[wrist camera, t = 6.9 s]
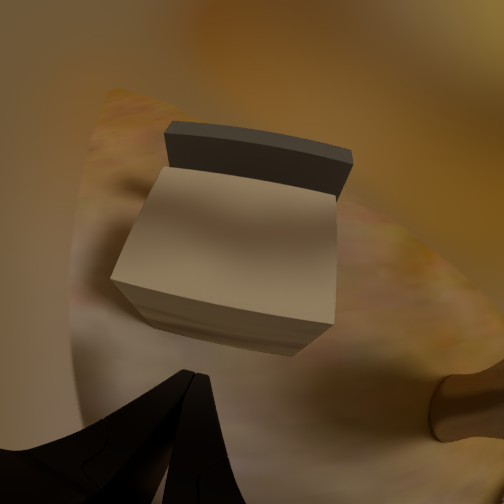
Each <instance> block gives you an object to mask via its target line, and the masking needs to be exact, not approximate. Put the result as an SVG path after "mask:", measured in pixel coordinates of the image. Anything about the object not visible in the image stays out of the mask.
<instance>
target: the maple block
mask: <svg viewBox="0 0 504 504" xmlns="http://www.w3.org/2000/svg"><path fill="white" fill-rule="evenodd" d="M336 267H337V224H336V196H335V195H331V194H327V193H322V192H318V191H313V190H308V189H304V188H299V187H294V186H289V185H284V184H279V183H273V182H268V181H262V180H257V179H251V178H245V177H239V176H232V175H226V174H219V173H212V172H205V171H197V170H190V169H181V168H173V167H163V169H162V171H161V173H160V174H159V176H158V178H157V180H156V182H155V184H154V185H153V187H152V189H151V191H150V193H149V195H148V197H147V199H146V201H145V203H144V205H143V207H142V209H141V211H140V213H139V215H138V217H137V219H136V221H135V223H134V225H133V227H132V229H131V231H130V234H129V236H128V238H127V240H126V242H125V245H124V247H123V249H122V251H121V254H120V256H119V258H118V261H117V263H116V266H115V268H114V270H113V273H112V275H111V278H110V279H111V280H112V282H113V283H114V284H115V285H116V286H117V288H118V289H119V290H120V291H121V292H122V293H123V295H124V296H125V297H126V298H127V299H128V300H129V301H130V303H131V304H132V305H133V306H134V307H135V308H136V309H137V310H138V312H139V313H140V314H141V315H142V316H143V317H144V318H145V319H146V320H147V321H148V322H149V323H150V324H151V326H152V327H153V328H155V329H159V330H163V331H166V332H170V333H174V334H178V335H182V336H186V337H190V338H195V339H199V340H203V341H208V342H212V343H217V344H222V345H227V346H232V347H237V348H242V349H248V350H253V351H259V352H265V353H271V354H278V355H285V356H292V357H293V356H294V355H295V354H297V353H298V352H299V351H301V350H302V349H303V348H305V347H306V346H307V345H309V344H310V343H311V342H313V341H314V340H315V339H316V338H318V337H319V336H320V335H321V334H323V333H324V332H325V331H326V330H328V329H329V328H330V327H331V326H333V325H334V319H335V300H336Z"/></svg>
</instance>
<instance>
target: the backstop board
mask: <svg viewBox="0 0 504 504" xmlns="http://www.w3.org/2000/svg"><path fill="white" fill-rule="evenodd" d="M164 136H165V143H166V149H167V154H168V160H169V166H170V167H173V168H181V169H190V170H197V171H205V172H212V173H219V174H226V175H232V176H239V177H245V178H251V179H257V180H262V181H268V182H273V183H279V184H284V185H289V186H294V187H299V188H304V189H308V190H313V191H318V192H322V193H327V194H331V195H335V196H336V202H337V200H338V197H339V195H340V193H341V191H342V189H343V187H344V184H345V182H346V180H347V178H348V175H349V173H350V171H351V168H352V166H353V158H352V152H351V150H349V149H345V148H341V147H337V146H333V145H329V144H325V143H321V142H317V141H312V140H308V139H303V138H298V137H293V136H288V135H283V134H278V133H272V132H266V131H260V130H253V129H247V128H240V127H232V126H224V125H215V124H206V123H195V122H181V121H172V123H171V124H170V125H169V127H168V128H167V129H166V131H165V132H164Z"/></svg>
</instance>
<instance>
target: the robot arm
mask: <svg viewBox="0 0 504 504" xmlns="http://www.w3.org/2000/svg"><path fill="white" fill-rule="evenodd" d="M227 456H228V455H227V451H226V447H225V443H224V439H223V435H222V431H221V427H220V423H219V419H218V414H217V410H216V406H215V401H214V397H213V392H212V387H211V382H210V378H209V376H208V375H206V374H201V373H196V374H195V372H193V371H189V370H185V369H182V370H180V371H179V372H177V373H176V374H174V375H173V376H171V377H170V378H168V379H167V380H165V381H164V382H162V383H160V384H159V385H157V386H156V387H154V388H153V389H151V390H149V391H148V392H146V393H145V394H143V395H141V396H140V397H138V398H137V399H135V400H133V401H132V402H130V403H128V404H127V405H125V406H123V407H122V408H120V409H118V410H117V411H115V412H113V413H112V414H110V415H108V416H106V417H105V418H104V419H101V420H99V421H97V422H96V423H94V424H92V425H90V426H88V427H86V428H84V429H82V430H81V431H78V432H76V433H73V434H71V435H69V436H66V437H64V438H61V439H58V440H55V441H53V442H50V443H47V444H44V445H41V446H38V447H35V448H31V449H28V450H21V451H11V450H5V449H0V504H151V502H152V500H153V498H154V496H155V494H156V492H157V489H158V487H159V485H160V483H161V481H162V479H163V476H164V474H165V472H166V470H167V468H168V465H169V468H168V474H167V479H166V484H165V489H164V495H163V500H162V504H246V503H245V501H244V499H243V497H242V495H241V492H240V490H239V488H238V486H237V483H236V481H235V478H234V475H233V472H232V469H231V465H230V462H229V458H228V457H227Z"/></svg>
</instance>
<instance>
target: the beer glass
mask: <svg viewBox="0 0 504 504" xmlns="http://www.w3.org/2000/svg"><path fill="white" fill-rule="evenodd" d="M429 422H430V427H431V431H432V433H433V435H434V436H435V437H436V438H437V439H438V440H440V441H442V442H454V441H458V440H462V439H466V438H470V437H488V438H496V439H503V440H504V359H503V360H501V361H500V362H498V363H497V364H495V365H493V366H491V367H490V368H488V369H486V370H483V371H481V372H477V373H473V374H455V375H451V376H449V377H448V378H446V379H445V380H444V381H443V382H442V383H441V384H440V385H439V386H438V388H437V390H436V391H435V393H434V396H433V398H432V401H431V405H430V411H429Z"/></svg>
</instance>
